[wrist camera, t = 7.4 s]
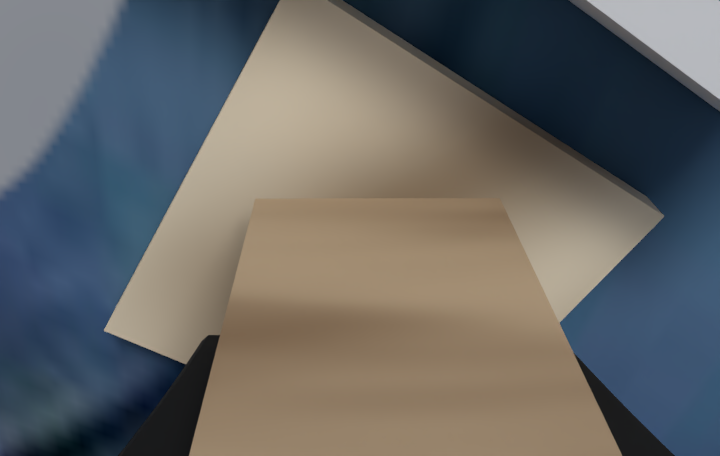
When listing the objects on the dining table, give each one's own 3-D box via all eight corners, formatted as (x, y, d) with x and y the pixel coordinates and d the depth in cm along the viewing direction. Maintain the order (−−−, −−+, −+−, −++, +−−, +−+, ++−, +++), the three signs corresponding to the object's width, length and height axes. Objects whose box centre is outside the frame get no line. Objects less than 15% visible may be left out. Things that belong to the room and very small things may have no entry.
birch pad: (646, 196, 12) (664, 216, 12) (418, 434, 16) (422, 461, 15) (295, -31, 10) (291, -23, 9) (116, 306, 13) (104, 330, 13)
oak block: (474, 378, 12) (577, 779, 7) (270, 380, 12) (213, 791, 7) (499, 198, 10) (676, 570, 5) (254, 198, 10) (156, 580, 5)
